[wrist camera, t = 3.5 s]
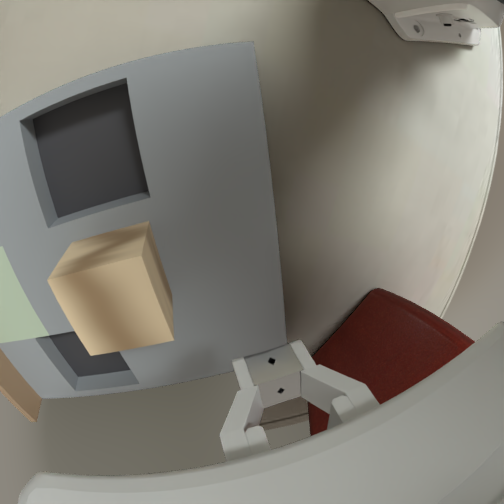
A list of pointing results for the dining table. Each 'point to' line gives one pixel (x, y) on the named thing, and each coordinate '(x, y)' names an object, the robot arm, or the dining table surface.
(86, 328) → the oak block
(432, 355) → the plant pot
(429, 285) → the dining table surface
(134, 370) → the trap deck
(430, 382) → the robot arm
